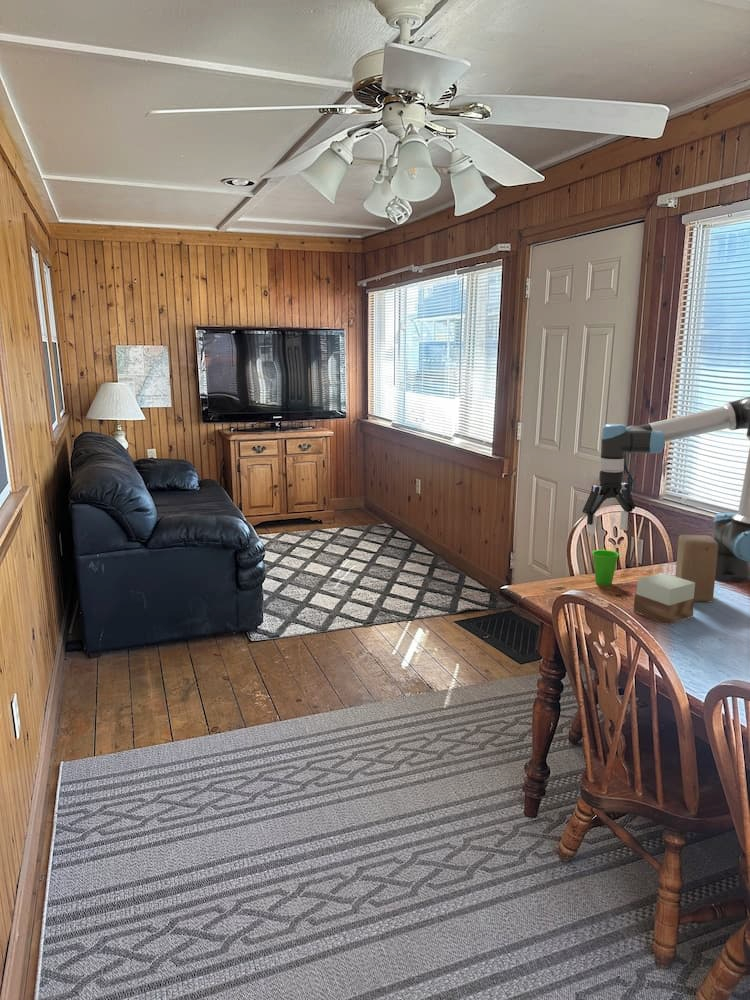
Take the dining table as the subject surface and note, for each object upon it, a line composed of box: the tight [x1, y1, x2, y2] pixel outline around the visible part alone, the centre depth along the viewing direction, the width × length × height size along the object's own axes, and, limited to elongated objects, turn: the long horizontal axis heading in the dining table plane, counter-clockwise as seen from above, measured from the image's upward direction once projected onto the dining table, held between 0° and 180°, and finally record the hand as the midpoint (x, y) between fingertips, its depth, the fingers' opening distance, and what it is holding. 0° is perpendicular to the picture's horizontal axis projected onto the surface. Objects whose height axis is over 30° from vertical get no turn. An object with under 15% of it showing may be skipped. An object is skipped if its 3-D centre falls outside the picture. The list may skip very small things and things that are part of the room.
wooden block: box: [674, 534, 718, 603], centre depth 220 cm, size 10×10×20 cm
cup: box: [591, 549, 620, 587], centre depth 235 cm, size 9×9×11 cm
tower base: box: [633, 593, 695, 625], centre depth 208 cm, size 12×12×6 cm
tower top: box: [636, 572, 695, 605], centre depth 206 cm, size 12×12×5 cm
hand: (607, 531), depth 232 cm, fingers open, 13 cm apart
